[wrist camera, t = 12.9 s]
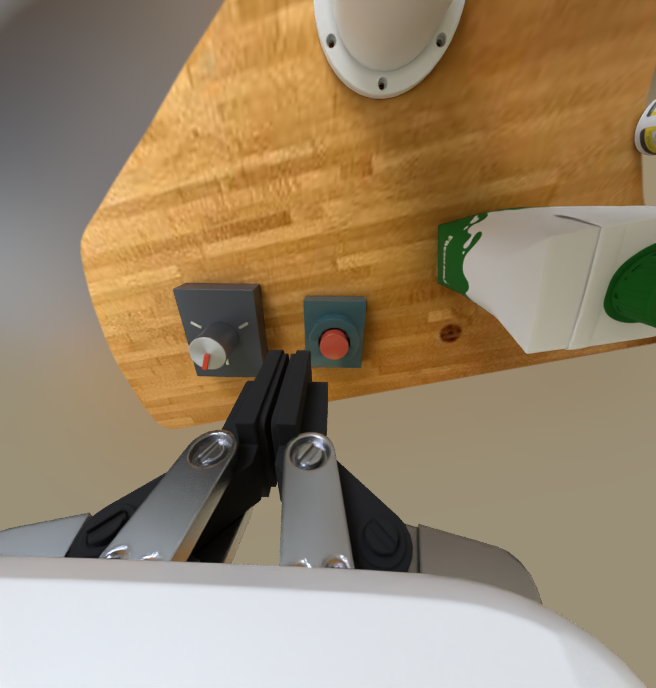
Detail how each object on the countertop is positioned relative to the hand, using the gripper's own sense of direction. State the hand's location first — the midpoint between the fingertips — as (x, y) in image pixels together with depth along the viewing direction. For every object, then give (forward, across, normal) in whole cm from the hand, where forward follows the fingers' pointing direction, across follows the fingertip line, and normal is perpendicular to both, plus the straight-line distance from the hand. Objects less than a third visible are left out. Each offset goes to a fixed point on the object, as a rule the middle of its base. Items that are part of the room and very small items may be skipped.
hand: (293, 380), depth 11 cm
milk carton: (+25, -18, -2) cm, 30 cm away
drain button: (+21, -2, +9) cm, 23 cm away
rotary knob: (+21, +13, +9) cm, 27 cm away
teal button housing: (+24, -2, +9) cm, 26 cm away
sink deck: (+24, +13, +9) cm, 29 cm away
